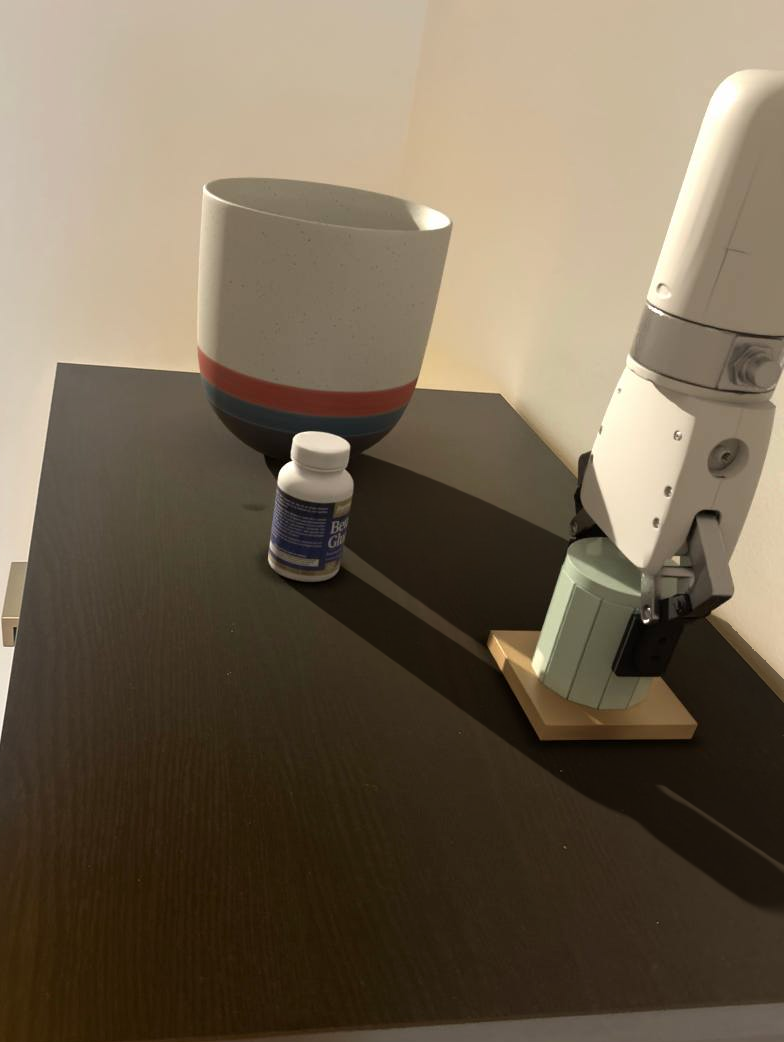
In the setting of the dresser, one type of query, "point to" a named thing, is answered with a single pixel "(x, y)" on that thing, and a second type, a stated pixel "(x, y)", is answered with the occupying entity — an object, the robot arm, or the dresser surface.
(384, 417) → the planter
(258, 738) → the dresser surface
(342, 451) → the pill bottle
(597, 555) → the cup
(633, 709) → the peg stand
